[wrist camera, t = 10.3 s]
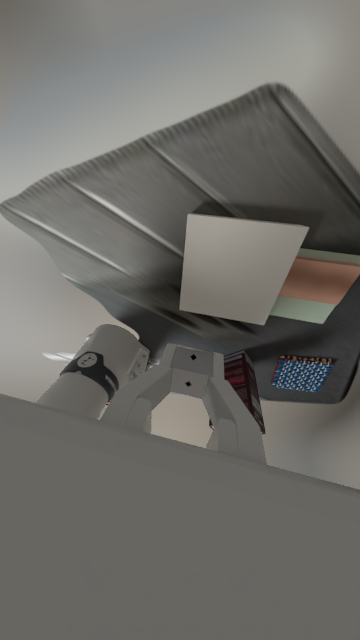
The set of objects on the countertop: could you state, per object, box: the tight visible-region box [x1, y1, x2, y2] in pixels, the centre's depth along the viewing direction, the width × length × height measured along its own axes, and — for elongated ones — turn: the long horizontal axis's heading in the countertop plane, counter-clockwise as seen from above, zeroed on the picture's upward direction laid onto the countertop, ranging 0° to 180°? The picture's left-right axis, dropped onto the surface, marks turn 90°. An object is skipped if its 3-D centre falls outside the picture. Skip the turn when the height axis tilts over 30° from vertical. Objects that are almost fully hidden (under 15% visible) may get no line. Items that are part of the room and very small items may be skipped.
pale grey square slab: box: [179, 213, 310, 325], centre depth 29 cm, size 16×16×3 cm
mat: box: [269, 248, 360, 324], centre depth 29 cm, size 12×10×1 cm
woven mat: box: [271, 355, 334, 392], centre depth 39 cm, size 10×11×2 cm
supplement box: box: [209, 350, 265, 434], centre depth 36 cm, size 9×5×16 cm, turn 127°
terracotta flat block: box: [278, 256, 360, 305], centre depth 27 cm, size 6×9×2 cm, turn 85°
